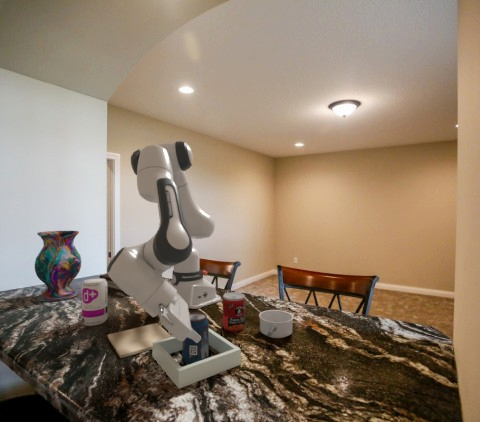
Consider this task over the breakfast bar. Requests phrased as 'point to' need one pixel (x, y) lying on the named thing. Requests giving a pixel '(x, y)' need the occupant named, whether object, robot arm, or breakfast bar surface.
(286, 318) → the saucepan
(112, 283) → the decorative book
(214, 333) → the rectangular frame
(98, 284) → the supplement can
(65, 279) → the vase
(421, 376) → the breakfast bar surface
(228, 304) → the canned food
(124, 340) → the board
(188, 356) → the soda can
